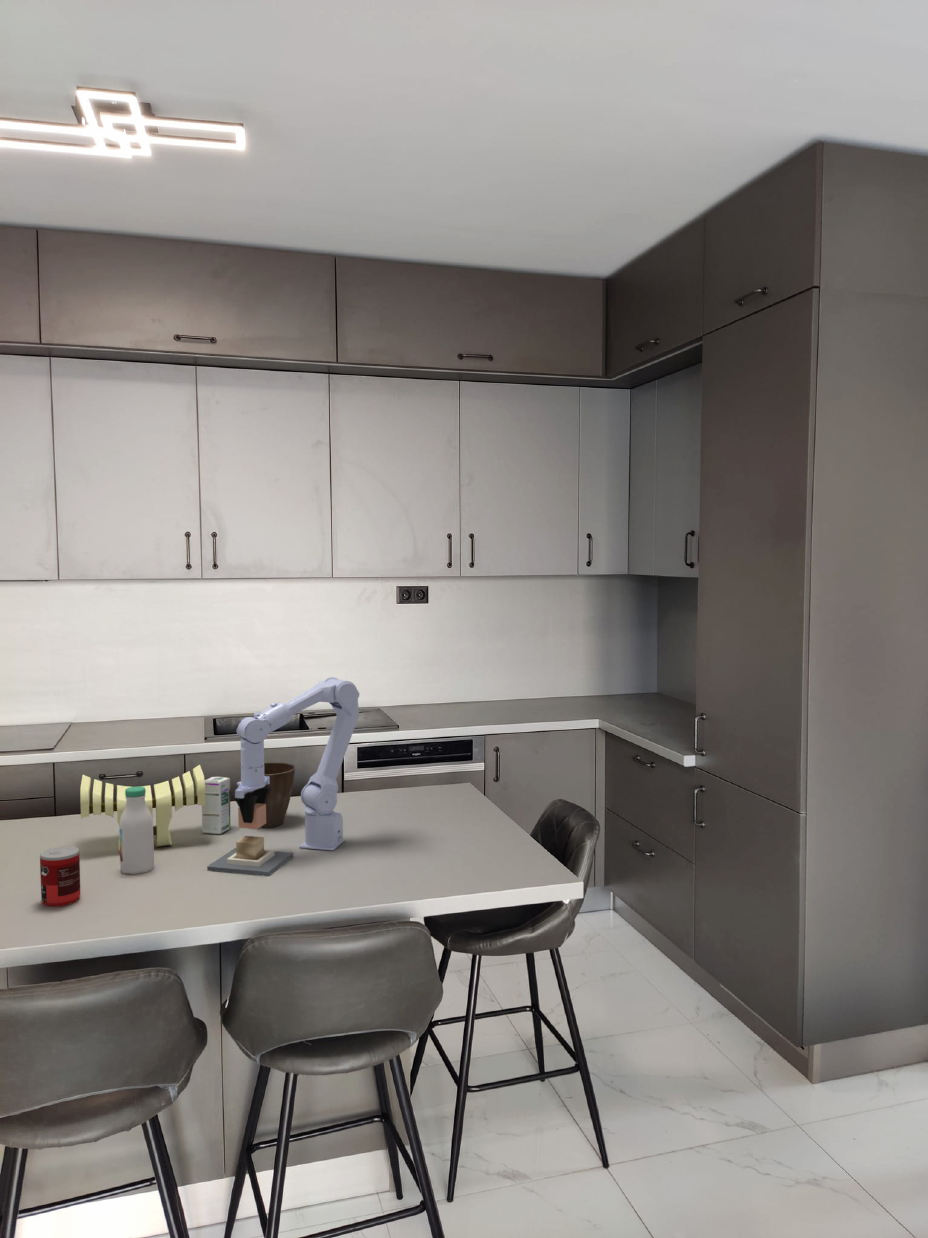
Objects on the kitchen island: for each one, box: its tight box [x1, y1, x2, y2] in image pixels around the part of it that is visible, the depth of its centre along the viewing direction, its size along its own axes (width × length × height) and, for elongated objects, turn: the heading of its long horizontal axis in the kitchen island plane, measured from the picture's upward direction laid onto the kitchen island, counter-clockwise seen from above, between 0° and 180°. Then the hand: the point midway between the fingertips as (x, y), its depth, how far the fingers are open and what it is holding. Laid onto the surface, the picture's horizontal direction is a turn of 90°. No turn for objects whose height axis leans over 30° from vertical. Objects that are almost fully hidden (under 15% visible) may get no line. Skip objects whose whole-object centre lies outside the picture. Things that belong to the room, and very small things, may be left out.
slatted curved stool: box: [79, 764, 206, 852], centre depth 232 cm, size 30×16×18 cm, turn 111°
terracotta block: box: [237, 803, 266, 830], centre depth 219 cm, size 5×5×5 cm
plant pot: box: [260, 762, 296, 828], centre depth 248 cm, size 15×15×16 cm
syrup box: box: [201, 776, 231, 835], centre depth 241 cm, size 6×6×14 cm
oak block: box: [235, 835, 265, 860], centre depth 216 cm, size 5×5×5 cm
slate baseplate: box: [206, 847, 294, 877], centre depth 216 cm, size 16×14×2 cm
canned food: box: [39, 845, 81, 908], centre depth 192 cm, size 8×8×11 cm
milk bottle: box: [118, 785, 155, 875], centre depth 211 cm, size 8×8×20 cm
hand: (253, 819), depth 219 cm, fingers closed on terracotta block, 5 cm apart
